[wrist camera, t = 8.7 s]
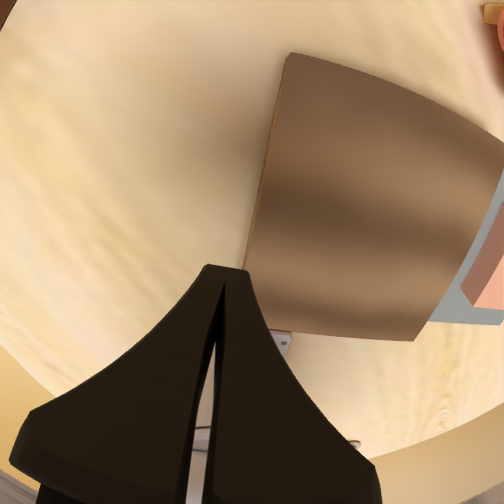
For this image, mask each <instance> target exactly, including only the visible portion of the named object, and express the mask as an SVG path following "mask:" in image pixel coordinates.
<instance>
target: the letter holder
mask: <svg viewBox="0 0 504 504" xmlns="http://www.w3.org/2000/svg"><path fill="white" fill-rule="evenodd" d="M15 2H16V0H0V30H1V27H2V25H3V24H4V22H5V20H6V18H7V16H8V14H9V12H10V11H11V9H12V7H13V5H14V3H15Z"/></svg>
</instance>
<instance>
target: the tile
mask: <svg viewBox="0 0 504 504" xmlns="http://www.w3.org/2000/svg"><path fill="white" fill-rule="evenodd" d="M460 288H461V290H462V291H463V293H464V294H465V296H466V297H467V299H468V300H469V302H470V303H471V305H472V306H473V307H480V308H489V309H499V310H504V205H503V204H501V206H500V209H499V211H498V214H497V216H496V218H495V220H494V223H493V225H492V227H491V229H490V231H489V234H488V236H487V238H486V240H485V242H484V244H483V246H482V248H481V250H480V252H479V254H478V256H477V258H476V260H475V261H474V263H473V265H472V267H471V269H470V271H469V272H468V274H467V276H466V278H465V279H464V281H463V283H462V285H461V286H460Z"/></svg>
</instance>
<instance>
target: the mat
mask: <svg viewBox="0 0 504 504" xmlns="http://www.w3.org/2000/svg"><path fill="white" fill-rule="evenodd" d="M501 204H503V205H504V169H503V172H502V175H501V178H500V181H499V183H498V186H497V189H496V191H495V194H494V196H493V199H492V201H491V204H490V206H489V209H488V211H487V213H486V216H485V218H484V220H483V222H482V225H481V227H480V229H479V231H478V233H477V235H476V237H475V240H474V242H473V244H472V246H471V248H470V250H469V252H468V254H467V255H466V257H465V259H464V261H463V263H462V265H461V267H460V269H459V270H458V272H457V274H456V276H455V277H454V279H453V281H452V283H451V284H450V286H449V288H448V289H447V291H446V293H445V294H444V296H443V298H442V299H441V301H440V303H439V304H438V306H437V307H436V309H435V310H434V312H433V313H432V315H431V316H430V318H429V320H428V321H433V322H447V323H462V324H480V325H500V324H501V323H502V321H503V320H504V310H499V309H489V308H480V307H473V306H472V305H471V303H470V302H469V300H468V299H467V297H466V296H465V294H464V293H463V291H462V290H461V288H460V286H461V285H462V283H463V281H464V279H465V278H466V276H467V274H468V272H469V271H470V269H471V267H472V265H473V263H474V261H475V260H476V258H477V256H478V254H479V252H480V250H481V248H482V246H483V244H484V242H485V240H486V238H487V236H488V234H489V231H490V229H491V227H492V225H493V223H494V220H495V218H496V216H497V214H498V211H499V209H500V206H501Z"/></svg>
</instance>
